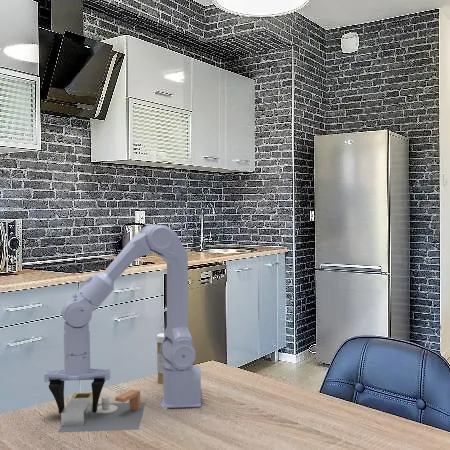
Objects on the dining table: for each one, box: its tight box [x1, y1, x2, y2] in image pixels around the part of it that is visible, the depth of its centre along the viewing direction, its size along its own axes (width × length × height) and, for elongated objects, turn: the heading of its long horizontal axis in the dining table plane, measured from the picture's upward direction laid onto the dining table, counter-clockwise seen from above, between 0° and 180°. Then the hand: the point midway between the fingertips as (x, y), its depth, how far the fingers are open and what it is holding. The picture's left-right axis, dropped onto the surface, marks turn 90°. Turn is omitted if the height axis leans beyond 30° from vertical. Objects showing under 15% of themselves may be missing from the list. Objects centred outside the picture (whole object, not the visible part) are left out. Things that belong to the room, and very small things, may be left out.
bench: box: [57, 395, 146, 433], centre depth 126 cm, size 17×17×3 cm
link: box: [60, 391, 93, 427], centre depth 127 cm, size 13×5×3 cm, turn 3°
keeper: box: [114, 389, 141, 410], centre depth 128 cm, size 6×2×5 cm, turn 153°
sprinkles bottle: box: [155, 332, 165, 385], centre depth 151 cm, size 5×5×13 cm
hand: (78, 411), depth 126 cm, fingers open, 7 cm apart
